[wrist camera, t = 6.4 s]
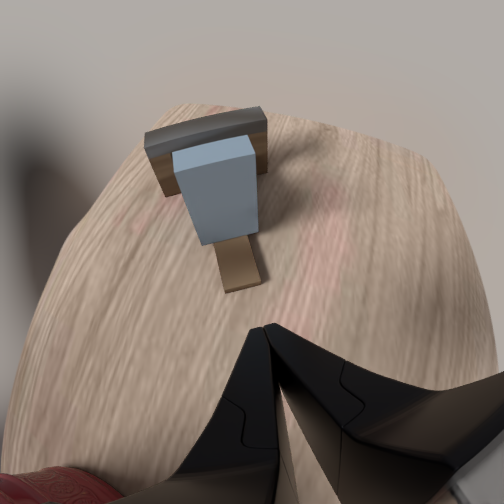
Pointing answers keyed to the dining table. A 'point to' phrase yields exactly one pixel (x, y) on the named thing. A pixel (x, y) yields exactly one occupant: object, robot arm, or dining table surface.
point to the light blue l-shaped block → (219, 188)
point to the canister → (55, 487)
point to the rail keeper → (201, 132)
